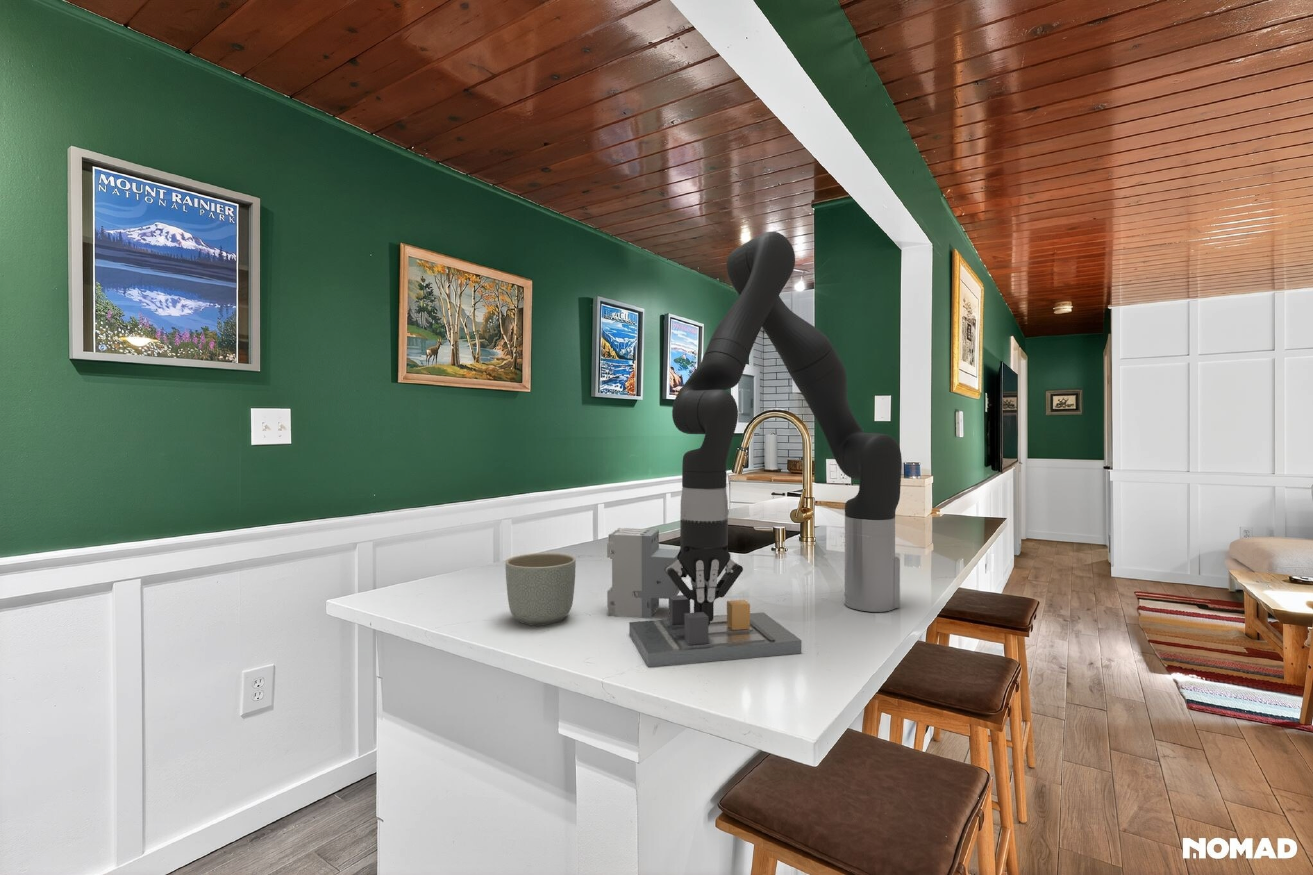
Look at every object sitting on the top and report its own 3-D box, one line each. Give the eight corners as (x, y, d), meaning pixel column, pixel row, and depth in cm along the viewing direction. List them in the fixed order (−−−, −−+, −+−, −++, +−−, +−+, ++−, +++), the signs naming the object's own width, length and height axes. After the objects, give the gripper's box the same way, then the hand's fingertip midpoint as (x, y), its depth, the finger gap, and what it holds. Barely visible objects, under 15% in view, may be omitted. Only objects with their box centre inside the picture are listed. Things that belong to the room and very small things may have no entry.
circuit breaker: (684, 620, 115) (684, 537, 114) (607, 615, 118) (607, 534, 117) (690, 608, 122) (690, 530, 122) (618, 604, 125) (617, 527, 125)
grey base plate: (763, 623, 113) (763, 611, 113) (801, 653, 98) (801, 639, 98) (629, 633, 107) (629, 620, 107) (648, 667, 93) (648, 651, 93)
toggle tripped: (744, 623, 105) (744, 599, 105) (750, 628, 103) (750, 603, 103) (726, 625, 105) (726, 600, 104) (732, 630, 102) (732, 605, 102)
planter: (588, 614, 118) (588, 556, 118) (550, 634, 107) (549, 570, 107) (533, 606, 124) (533, 550, 123) (491, 625, 112) (490, 563, 112)
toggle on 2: (703, 637, 98) (703, 611, 98) (708, 643, 96) (708, 616, 96) (684, 639, 98) (684, 613, 98) (689, 644, 95) (689, 618, 95)
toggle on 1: (685, 618, 108) (685, 594, 108) (690, 623, 106) (690, 599, 106) (668, 619, 108) (668, 596, 107) (672, 624, 105) (672, 600, 105)
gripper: (735, 511, 107) (734, 614, 107) (658, 513, 104) (657, 619, 104) (752, 517, 100) (751, 628, 100) (669, 520, 97) (669, 634, 97)
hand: (703, 624), depth 102 cm, fingers closed
